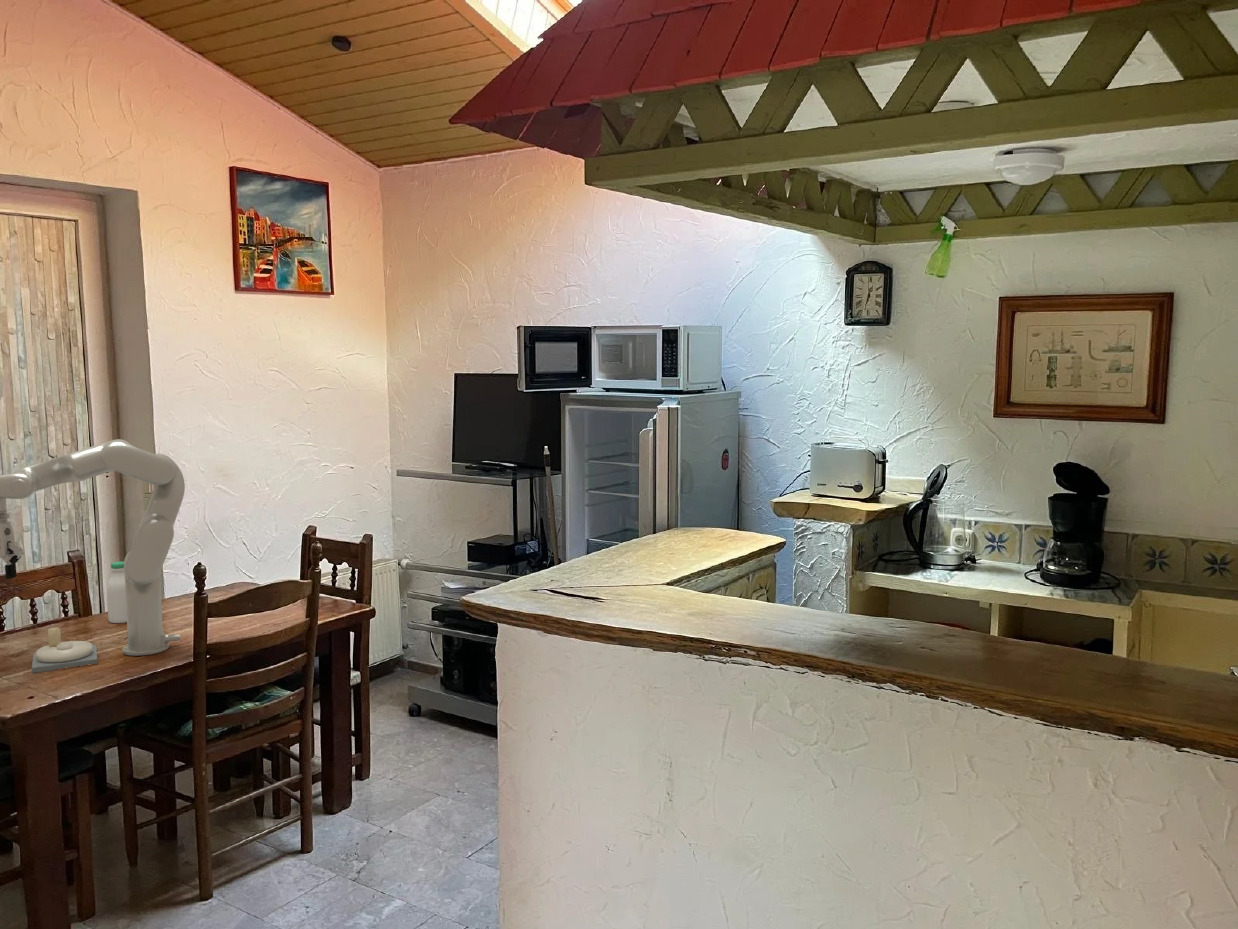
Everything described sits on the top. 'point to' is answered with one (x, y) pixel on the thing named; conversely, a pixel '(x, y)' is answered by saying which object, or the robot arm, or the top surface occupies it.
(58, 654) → the dial
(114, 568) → the milk bottle
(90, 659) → the base board
